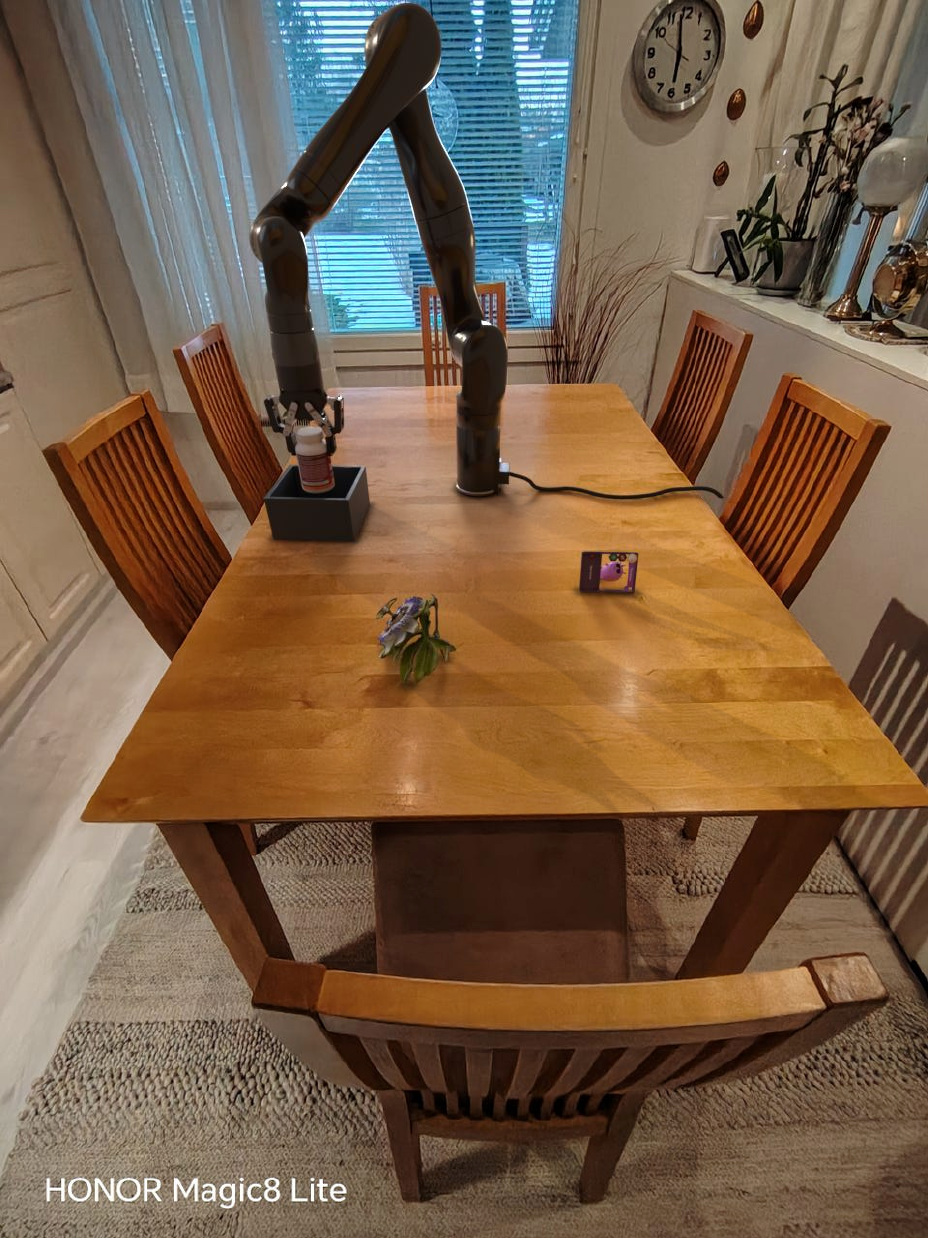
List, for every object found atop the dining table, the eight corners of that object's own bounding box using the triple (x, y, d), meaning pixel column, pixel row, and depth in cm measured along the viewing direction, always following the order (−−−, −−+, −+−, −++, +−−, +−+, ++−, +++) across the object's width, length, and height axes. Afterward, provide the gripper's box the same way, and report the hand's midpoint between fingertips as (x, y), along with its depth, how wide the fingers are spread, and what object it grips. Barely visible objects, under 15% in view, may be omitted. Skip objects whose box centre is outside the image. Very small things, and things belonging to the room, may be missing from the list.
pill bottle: (340, 489, 112) (332, 432, 106) (309, 497, 110) (299, 439, 103) (327, 478, 116) (318, 422, 110) (297, 485, 114) (286, 429, 107)
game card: (582, 552, 94) (639, 553, 94) (578, 546, 99) (632, 547, 99) (579, 593, 96) (635, 594, 96) (575, 585, 101) (628, 586, 101)
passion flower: (395, 679, 88) (384, 600, 88) (466, 670, 87) (455, 589, 87) (373, 691, 77) (360, 601, 77) (453, 682, 76) (441, 589, 75)
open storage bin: (370, 504, 123) (365, 465, 118) (354, 541, 111) (348, 500, 106) (297, 502, 124) (289, 464, 119) (273, 539, 112) (263, 498, 107)
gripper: (344, 353, 102) (355, 447, 112) (262, 352, 102) (281, 446, 113) (333, 364, 96) (346, 463, 106) (247, 363, 96) (268, 461, 107)
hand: (313, 454), depth 109 cm, fingers closed on pill bottle, 6 cm apart
